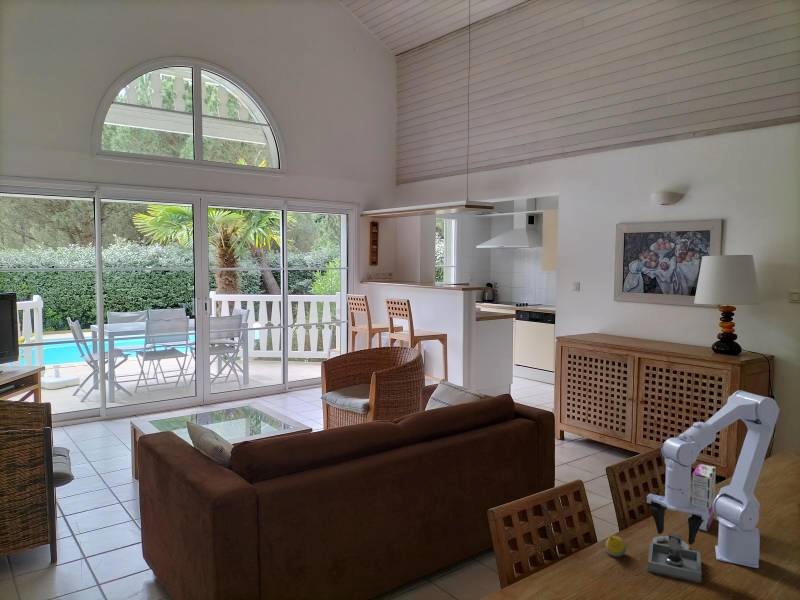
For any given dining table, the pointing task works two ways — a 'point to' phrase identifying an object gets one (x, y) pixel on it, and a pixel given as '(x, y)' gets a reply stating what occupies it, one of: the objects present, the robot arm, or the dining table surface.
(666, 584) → the dining table surface
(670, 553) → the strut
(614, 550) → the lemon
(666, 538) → the seat ring
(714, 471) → the candy bar box
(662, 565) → the tray
